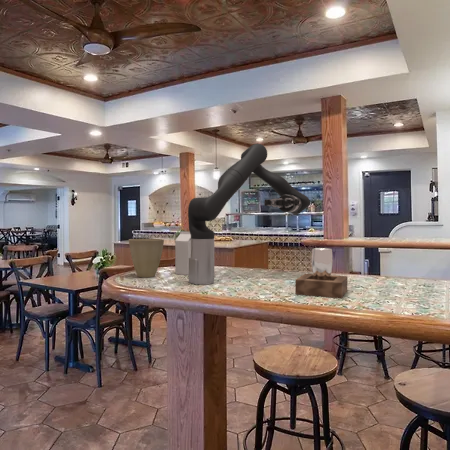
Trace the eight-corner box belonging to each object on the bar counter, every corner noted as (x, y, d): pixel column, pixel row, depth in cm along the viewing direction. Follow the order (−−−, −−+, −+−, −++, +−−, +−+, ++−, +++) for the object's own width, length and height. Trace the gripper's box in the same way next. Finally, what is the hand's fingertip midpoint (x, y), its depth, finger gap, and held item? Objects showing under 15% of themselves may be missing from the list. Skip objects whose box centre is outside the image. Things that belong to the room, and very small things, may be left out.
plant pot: (160, 279, 161) (160, 240, 161) (124, 279, 161) (124, 240, 161) (166, 273, 176) (166, 238, 176) (133, 273, 176) (133, 238, 176)
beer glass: (332, 291, 138) (333, 248, 137) (331, 294, 131) (332, 249, 131) (312, 289, 140) (312, 247, 139) (310, 293, 133) (310, 249, 133)
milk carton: (187, 275, 172) (187, 232, 171) (175, 274, 175) (175, 231, 175) (197, 273, 178) (197, 231, 177) (184, 272, 181) (185, 231, 181)
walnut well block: (295, 294, 131) (295, 279, 131) (305, 287, 145) (305, 273, 145) (341, 298, 125) (341, 282, 125) (347, 290, 139) (347, 276, 139)
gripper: (273, 195, 174) (260, 193, 160) (304, 194, 168) (294, 192, 153) (273, 212, 174) (260, 211, 160) (304, 212, 168) (294, 211, 154)
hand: (277, 202), depth 157 cm, fingers open, 8 cm apart
